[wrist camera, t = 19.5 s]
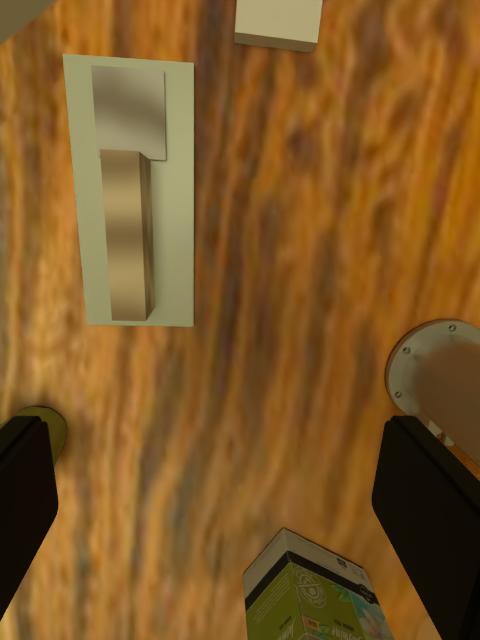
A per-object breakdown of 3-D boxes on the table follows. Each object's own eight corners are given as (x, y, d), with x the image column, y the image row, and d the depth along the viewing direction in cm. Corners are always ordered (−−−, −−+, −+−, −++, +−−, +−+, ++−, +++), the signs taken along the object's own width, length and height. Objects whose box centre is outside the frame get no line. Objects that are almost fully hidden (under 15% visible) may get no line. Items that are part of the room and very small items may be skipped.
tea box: (366, 565, 50) (425, 703, 36) (323, 609, 52) (363, 757, 38) (282, 523, 47) (310, 657, 33) (240, 572, 49) (249, 718, 35)
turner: (169, 307, 36) (162, 321, 32) (110, 306, 36) (94, 320, 31) (165, 73, 30) (155, 47, 26) (94, 68, 30) (70, 41, 25)
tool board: (193, 324, 38) (193, 326, 37) (89, 322, 37) (86, 324, 36) (194, 66, 31) (193, 62, 30) (66, 57, 30) (62, 53, 30)
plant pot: (100, 434, 41) (71, 489, 33) (41, 475, 42) (-2, 539, 34) (41, 376, 39) (-6, 421, 30) (-20, 422, 40) (-82, 477, 32)
